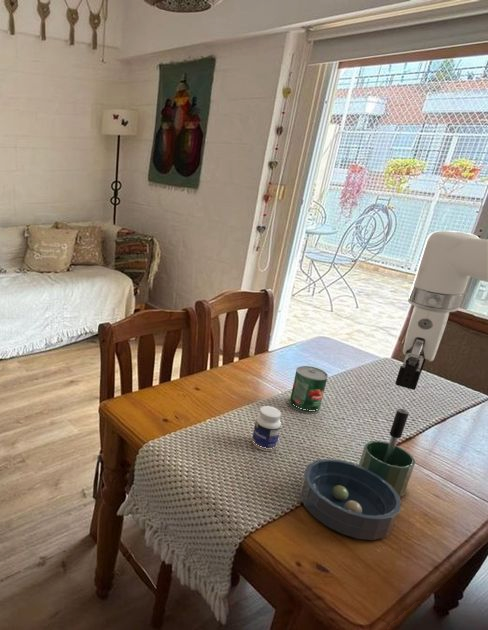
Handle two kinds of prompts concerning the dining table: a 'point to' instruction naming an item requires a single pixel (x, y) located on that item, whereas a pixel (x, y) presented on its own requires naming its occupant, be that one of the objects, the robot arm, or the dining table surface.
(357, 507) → the ball
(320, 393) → the canned tomato
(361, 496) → the bowl
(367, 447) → the cup
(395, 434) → the black-handled disc rod
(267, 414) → the pill bottle
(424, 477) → the dining table surface
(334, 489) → the ball
